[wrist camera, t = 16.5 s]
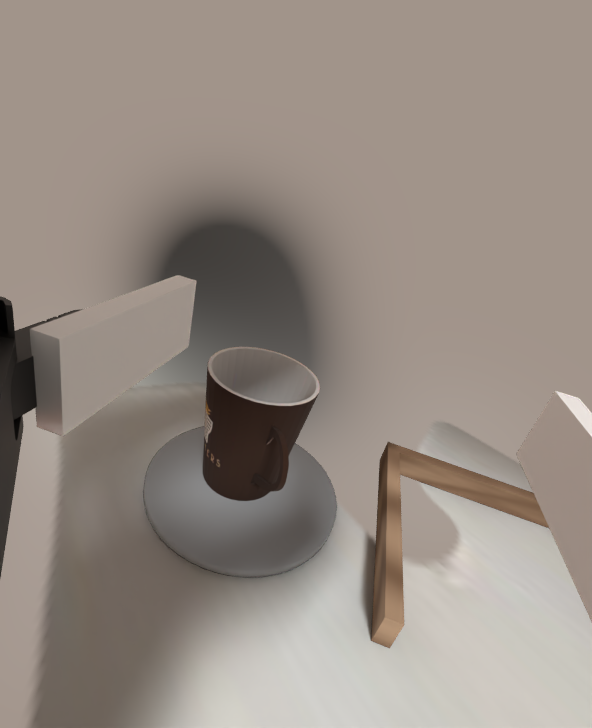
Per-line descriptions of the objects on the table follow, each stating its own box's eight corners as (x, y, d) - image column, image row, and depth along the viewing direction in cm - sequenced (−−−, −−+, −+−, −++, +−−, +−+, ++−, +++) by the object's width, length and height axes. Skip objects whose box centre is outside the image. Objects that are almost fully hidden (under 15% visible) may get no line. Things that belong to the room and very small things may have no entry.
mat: (371, 537, 32) (374, 530, 32) (178, 615, 23) (180, 607, 23) (278, 421, 44) (280, 415, 43) (124, 443, 35) (124, 436, 34)
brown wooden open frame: (707, 777, 23) (739, 757, 22) (371, 640, 25) (385, 617, 24) (572, 528, 40) (585, 511, 39) (379, 460, 42) (388, 441, 41)
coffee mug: (209, 430, 38) (227, 337, 34) (294, 456, 38) (324, 366, 34) (152, 523, 27) (169, 404, 23) (271, 559, 27) (309, 447, 23)
